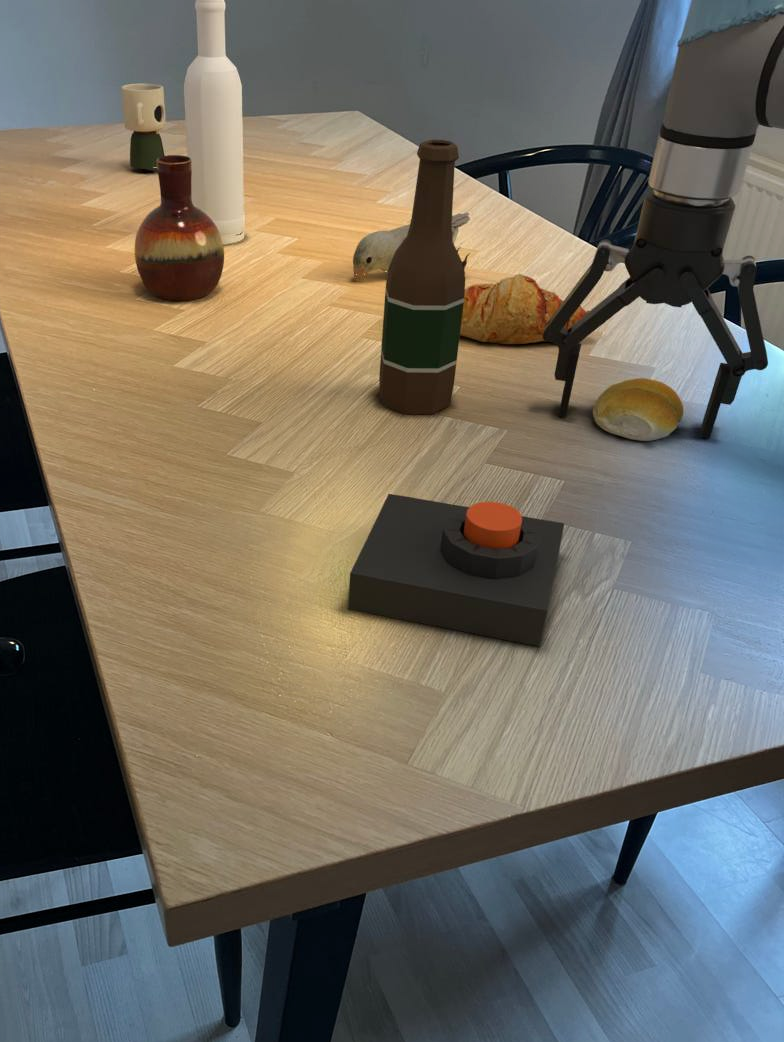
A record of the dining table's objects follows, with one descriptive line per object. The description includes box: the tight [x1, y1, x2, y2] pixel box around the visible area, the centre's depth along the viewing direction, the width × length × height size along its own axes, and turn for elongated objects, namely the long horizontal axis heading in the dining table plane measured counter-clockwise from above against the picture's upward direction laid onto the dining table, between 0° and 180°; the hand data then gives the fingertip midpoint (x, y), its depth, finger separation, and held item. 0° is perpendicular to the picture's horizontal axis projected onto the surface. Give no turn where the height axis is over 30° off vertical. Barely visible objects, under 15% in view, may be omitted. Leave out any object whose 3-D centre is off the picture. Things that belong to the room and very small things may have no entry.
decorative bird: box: [352, 212, 471, 282], centre depth 128 cm, size 5×16×8 cm, turn 109°
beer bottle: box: [378, 139, 466, 415], centre depth 93 cm, size 8×8×24 cm
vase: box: [134, 154, 225, 302], centre depth 120 cm, size 11×11×15 cm
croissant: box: [460, 273, 590, 345], centre depth 113 cm, size 21×10×8 cm, turn 79°
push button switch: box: [347, 493, 565, 647], centre depth 73 cm, size 14×12×5 cm
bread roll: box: [592, 377, 685, 442], centre depth 96 cm, size 8×9×4 cm
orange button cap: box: [464, 501, 523, 549], centre depth 71 cm, size 4×4×2 cm
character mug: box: [121, 83, 166, 173], centre depth 169 cm, size 11×7×13 cm, turn 177°
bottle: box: [183, 0, 246, 246], centre depth 133 cm, size 8×8×30 cm
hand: (633, 422), depth 97 cm, fingers open, 13 cm apart
